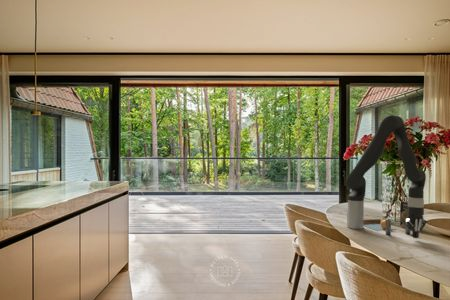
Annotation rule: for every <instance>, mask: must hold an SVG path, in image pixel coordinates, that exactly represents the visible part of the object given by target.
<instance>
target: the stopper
mask: <svg viewBox="0 0 450 300" xmlns="http://www.w3.org/2000/svg"><path fill="white" fill-rule="evenodd" d="M381 221H382V219H381V218H370V219H369V218H368V219H367V218H365V219H364V223H363V225H373V224H380V223H381Z"/></svg>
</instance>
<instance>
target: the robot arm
mask: <svg viewBox="0 0 450 300" xmlns="http://www.w3.org/2000/svg"><path fill="white" fill-rule="evenodd" d="M392 134H393V135H394V137H395V141H396V144H397V152H398V155H399V158H400V159H401V161H402V162H401V163H402V164H403V169H404V173H405V176H406V178H407V180H408V181H409V182H411V185H410V186H409V187H408V198H407V201H408V214H409V216H408V219H407V220H405V221H404V222H405V224H406V225H407V227H408V228H409V229H410V230H411V232H412V238H413V239H419V236H420V231H422V230H424V228H425V226H426V225H427V223H428V221H427V220H425V219H424V215H425V200H424V197H425V196H424V195H425V194H424V189H425V186H426V185H425V184H426V182H427V180H426V179H427V177H426V176H427V175H426V172H425V171H424V170H423V169H421V168H418V165H417V163H418V159H417V156H416V154H415V152H414V150H413V148H412V146H411V143H410V140H409V137H408V133H407V131H406V127H405V122H404V120H403V118H402V117H401V116H399V115H394V114H388V115H386V116H384V117H383V118H382V120H381V122H380V123H379V126H378V128H377V130H376V132H375V135H374V136H373V137H372V139H370V142H369V144H368V145H367V146H366V148H365V150H364V151H363V154H362V155H361V156H360V159H358V162H357V163H356V165H355V166H354V168H353V169H352V170H351V172H350V173H349V174H348V176H347V177H346V179H345V186H346V188H347V189H349V190H351V191H350V193H349V194H348V195H347V213H346V214H347V215H346V226H347V227H348V228H350V229H353V230H361V229H362V230H363V229H364V226H363V225H364V224H363V223H364V216H365V214H364V211H365V203H364V201H365V196H366V189H367V188H366V187H367V186H366V184H367V183H366V179H365V177H364V176H365V174H367V172H368V171H369V170H370V169H372V168H374V166H375V165H376V164H377V163H378V162H379V160H380V159H381V157H382V156H383V153H384V151H385V146H386V143H387V140H388V138H389V137H390V135H392ZM410 223H411V224H410Z"/></svg>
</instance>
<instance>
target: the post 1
mask: <svg viewBox="0 0 450 300" xmlns="http://www.w3.org/2000/svg"><path fill="white" fill-rule="evenodd" d="M385 220H386V230H385V236H392V234H391V232H392V230H391V228H392V219H390V218H385Z"/></svg>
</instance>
